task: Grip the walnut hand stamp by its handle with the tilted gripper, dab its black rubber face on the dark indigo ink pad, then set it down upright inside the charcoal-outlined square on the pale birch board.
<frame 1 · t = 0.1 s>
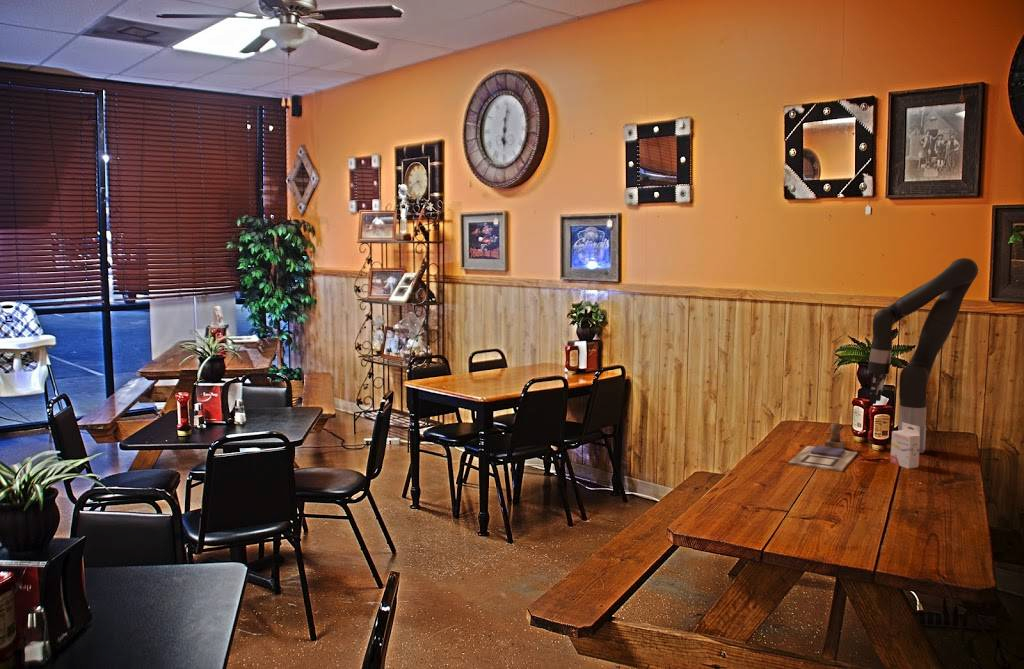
hand: (875, 402, 323), 17 cm above the table, tool pointing down, fingers open, 8 cm apart
ink cartridge box: (904, 465, 298), on the table
hand stamp: (834, 448, 322), on the table
stamping board: (823, 459, 306), on the table
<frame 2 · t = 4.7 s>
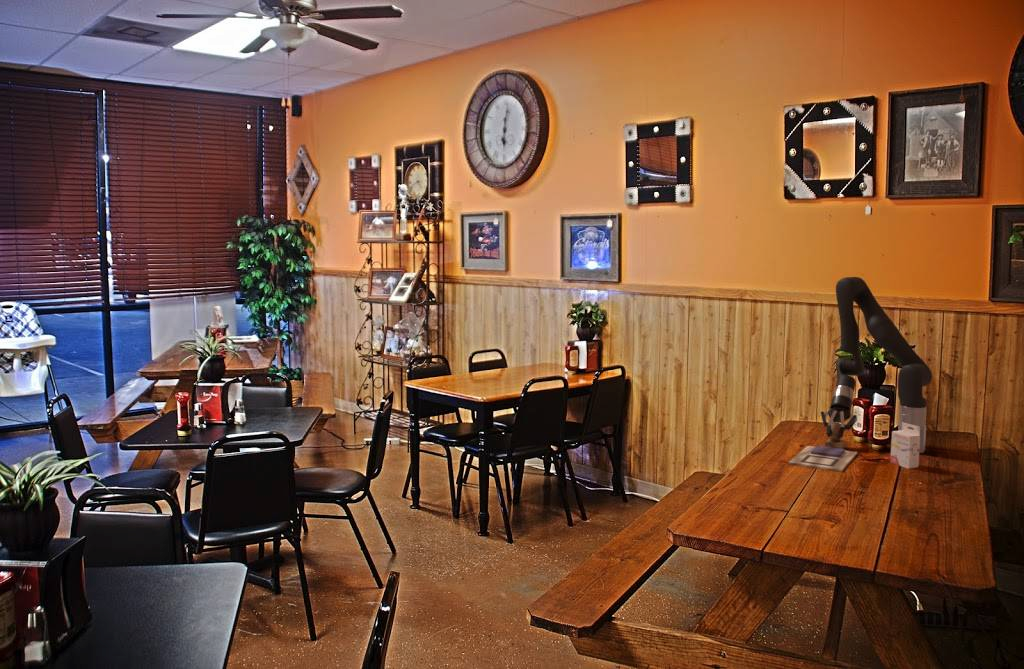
hand: (834, 436, 320), 5 cm above the table, tool tilted 45°, fingers closed on hand stamp, 3 cm apart
hand stamp: (834, 448, 322), on the table, touching gripper
everything else where it was.
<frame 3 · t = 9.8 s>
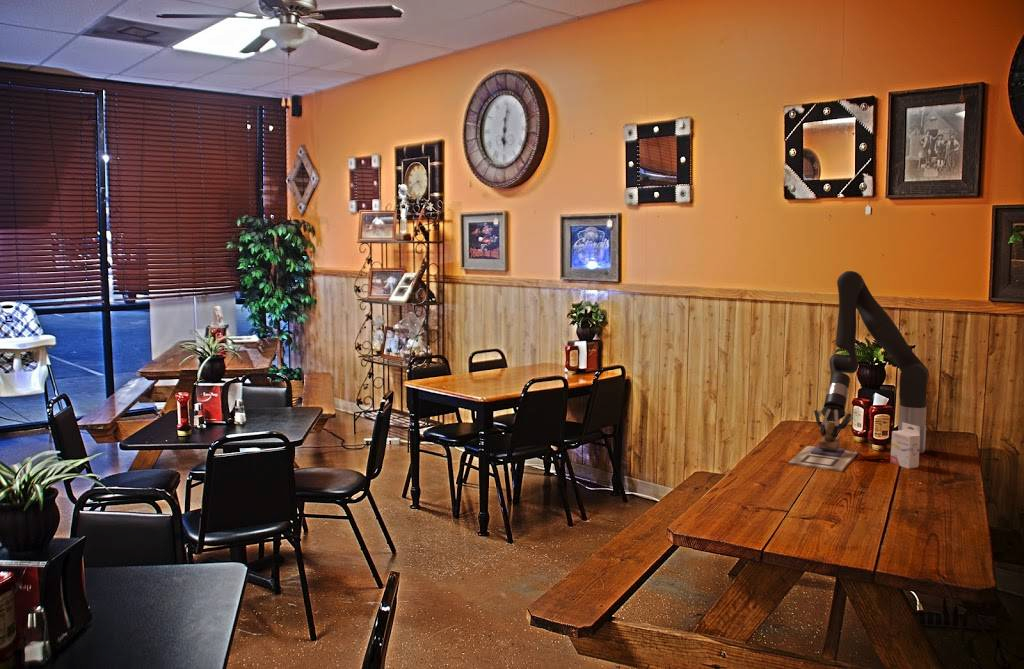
hand: (828, 435, 309), 8 cm above the table, tool tilted 45°, fingers closed on hand stamp, 3 cm apart
hand stamp: (829, 447, 311), point 3 cm above the table, touching gripper
everything else where it was.
when the fingers open (7 cm above the table, at t = 14.9 s): hand stamp stays where it is, resting on stamping board.
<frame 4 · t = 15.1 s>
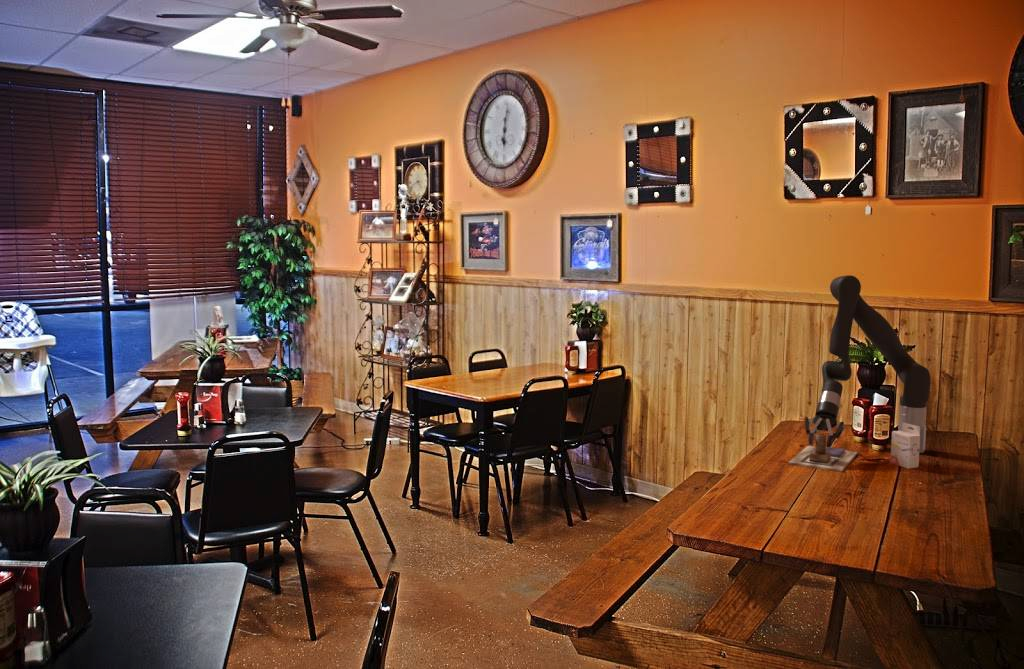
hand: (819, 444, 299), 7 cm above the table, tool tilted 45°, fingers open, 5 cm apart
hand stamp: (820, 460, 301), point 1 cm above the table, touching stamping board
everything else where it was.
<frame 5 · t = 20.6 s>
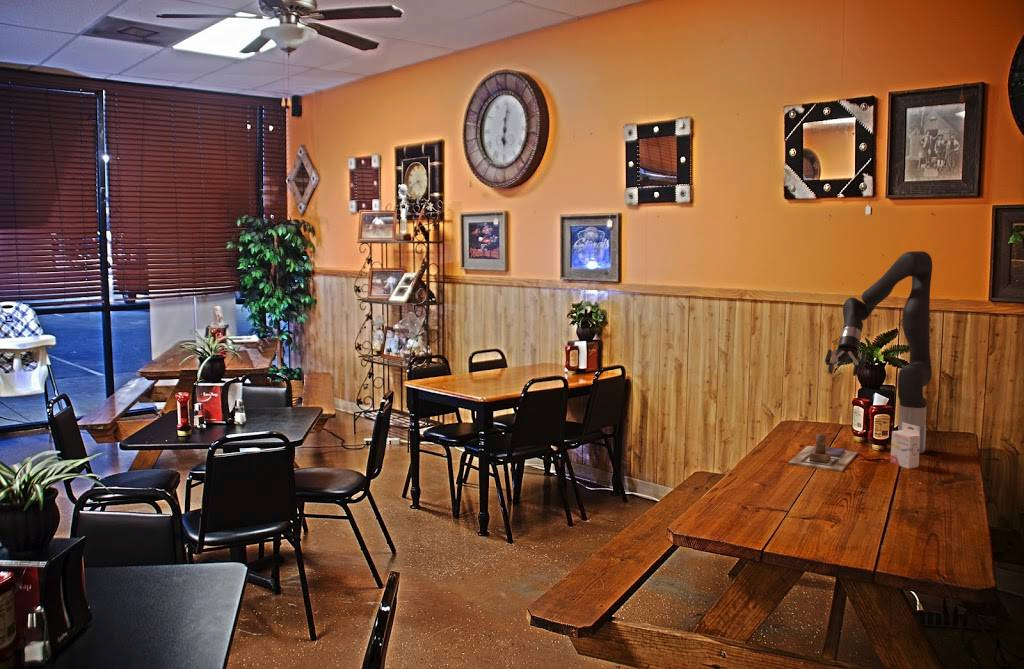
hand: (842, 373, 320), 29 cm above the table, tool tilted 45°, fingers open, 8 cm apart
nothing on the table moved.
at the end: hand stamp 0.2 cm from the target spot on the stamping board, point 0.8 cm above the stamping board's base; hand stamp tilted 0°; the gripper is holding nothing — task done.
